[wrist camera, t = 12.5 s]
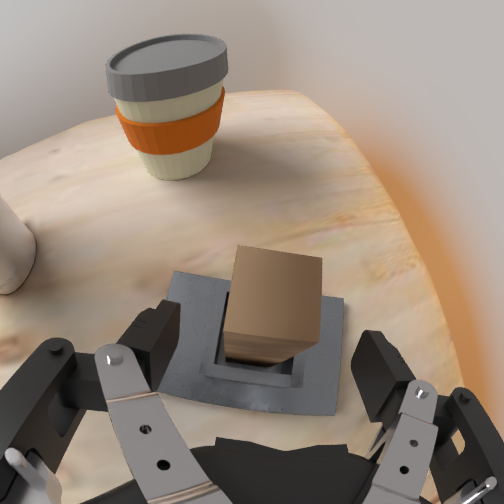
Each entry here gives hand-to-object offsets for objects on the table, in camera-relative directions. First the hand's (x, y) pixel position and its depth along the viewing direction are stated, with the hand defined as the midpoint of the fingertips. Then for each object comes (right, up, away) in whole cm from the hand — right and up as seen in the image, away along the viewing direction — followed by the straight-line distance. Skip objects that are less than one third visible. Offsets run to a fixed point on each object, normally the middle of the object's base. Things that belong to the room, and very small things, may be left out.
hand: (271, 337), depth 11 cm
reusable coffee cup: (-10, +16, +22) cm, 29 cm away
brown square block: (-1, -4, +10) cm, 10 cm away
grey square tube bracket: (-1, -5, +12) cm, 13 cm away
